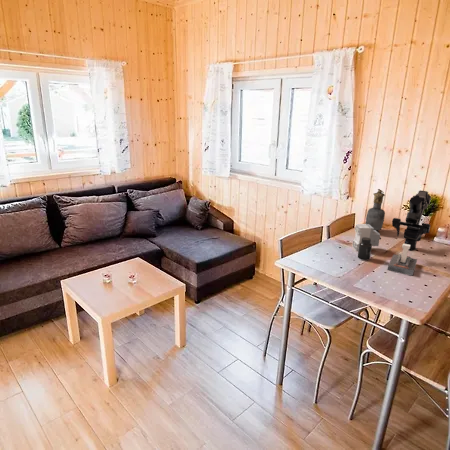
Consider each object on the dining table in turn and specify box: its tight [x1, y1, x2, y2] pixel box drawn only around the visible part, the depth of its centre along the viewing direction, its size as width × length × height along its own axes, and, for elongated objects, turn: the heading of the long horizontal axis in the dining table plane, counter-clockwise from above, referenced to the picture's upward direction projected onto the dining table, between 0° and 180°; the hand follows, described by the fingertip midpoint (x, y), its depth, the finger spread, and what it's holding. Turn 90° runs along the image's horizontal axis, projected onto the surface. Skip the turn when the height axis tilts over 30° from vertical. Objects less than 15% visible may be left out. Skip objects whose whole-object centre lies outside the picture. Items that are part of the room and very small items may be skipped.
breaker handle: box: [400, 243, 410, 263], centre depth 186 cm, size 3×4×10 cm
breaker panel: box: [387, 253, 418, 277], centre depth 188 cm, size 17×12×5 cm
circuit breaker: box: [351, 223, 382, 252], centre depth 209 cm, size 8×14×15 cm, turn 89°
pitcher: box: [364, 188, 386, 233], centre depth 239 cm, size 11×19×30 cm, turn 150°
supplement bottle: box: [357, 237, 373, 261], centre depth 197 cm, size 7×7×12 cm
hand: (406, 237), depth 191 cm, fingers open, 9 cm apart
